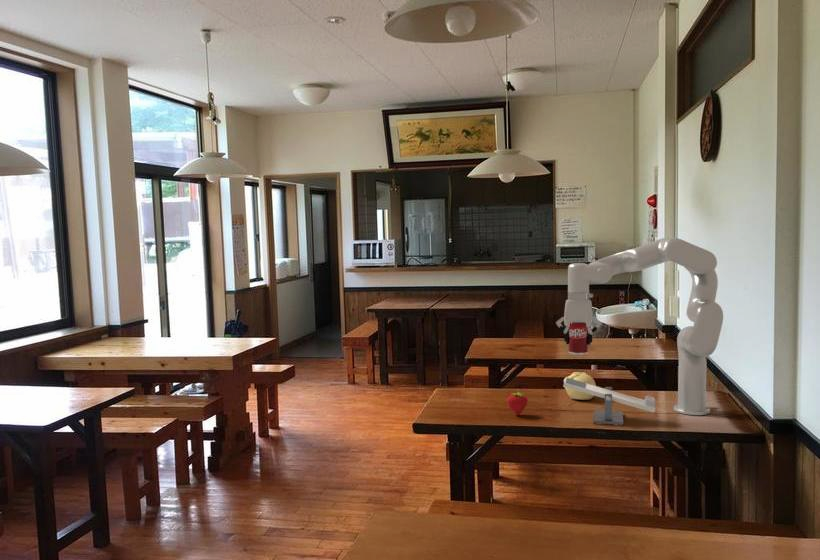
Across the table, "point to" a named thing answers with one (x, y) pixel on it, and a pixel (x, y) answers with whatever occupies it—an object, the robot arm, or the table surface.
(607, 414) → the fulcrum stand
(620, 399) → the beam
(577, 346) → the soda can
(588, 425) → the table surface
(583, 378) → the sculpture
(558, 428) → the table surface
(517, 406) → the strawberry
